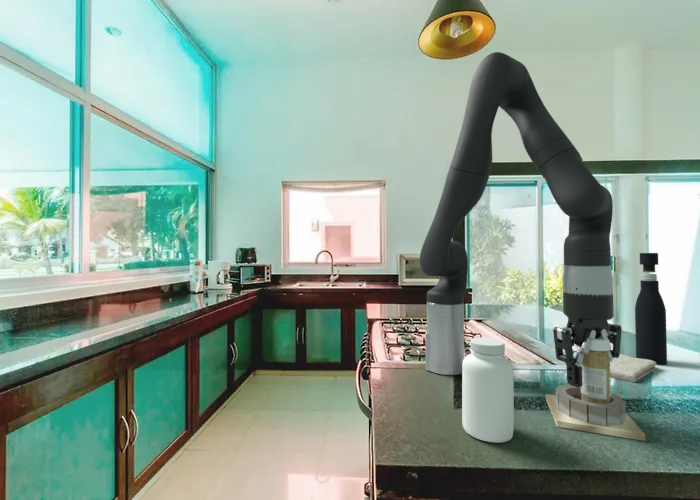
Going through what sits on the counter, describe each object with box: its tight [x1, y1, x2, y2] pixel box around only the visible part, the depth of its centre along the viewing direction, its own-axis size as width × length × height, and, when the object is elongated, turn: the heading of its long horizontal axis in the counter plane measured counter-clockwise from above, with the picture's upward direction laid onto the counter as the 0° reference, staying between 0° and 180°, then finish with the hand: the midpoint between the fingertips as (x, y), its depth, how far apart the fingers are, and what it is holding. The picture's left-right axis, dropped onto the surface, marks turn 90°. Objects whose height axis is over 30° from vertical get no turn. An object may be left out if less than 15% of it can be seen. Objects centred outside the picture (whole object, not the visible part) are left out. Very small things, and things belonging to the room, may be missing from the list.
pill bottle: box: [461, 337, 515, 444], centre depth 56 cm, size 8×8×15 cm
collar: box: [545, 384, 646, 442], centre depth 61 cm, size 12×12×4 cm
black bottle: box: [634, 252, 668, 366], centre depth 93 cm, size 6×6×30 cm
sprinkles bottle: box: [581, 338, 612, 404], centre depth 60 cm, size 5×5×13 cm
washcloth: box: [610, 353, 657, 383], centre depth 87 cm, size 12×18×3 cm, turn 126°
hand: (588, 383), depth 61 cm, fingers open, 6 cm apart
